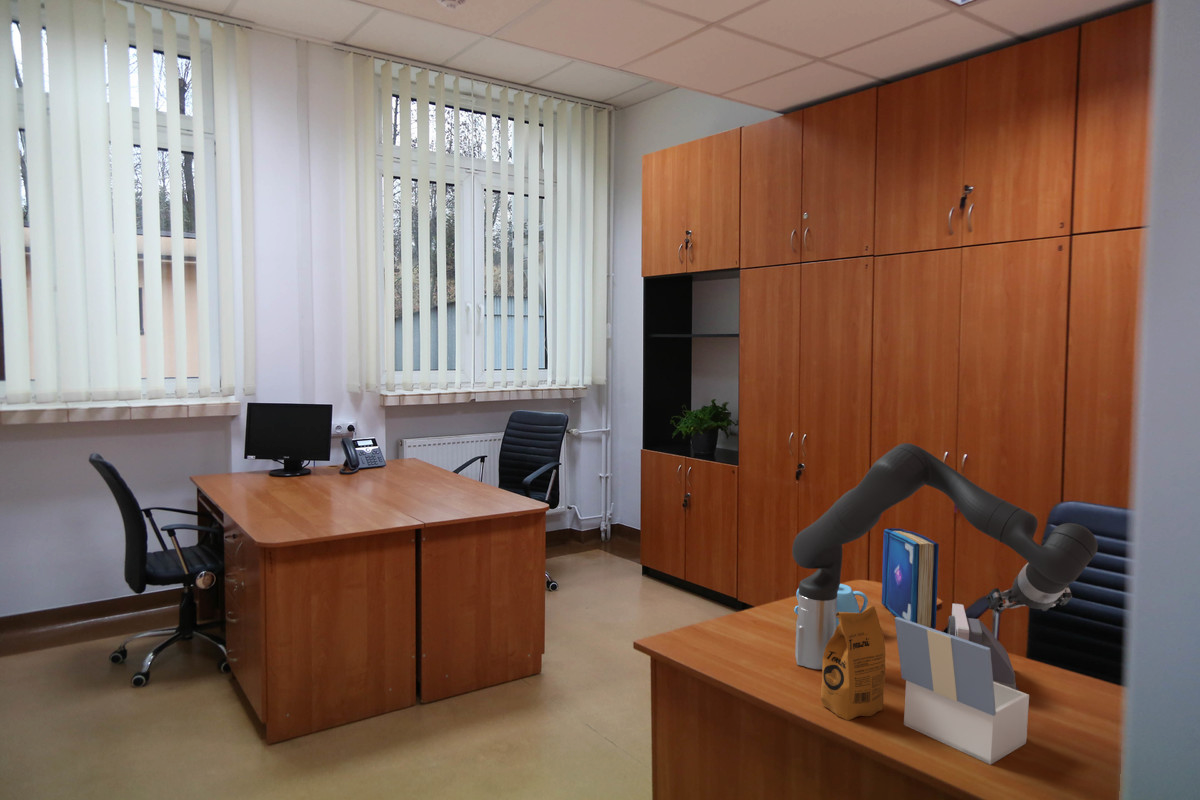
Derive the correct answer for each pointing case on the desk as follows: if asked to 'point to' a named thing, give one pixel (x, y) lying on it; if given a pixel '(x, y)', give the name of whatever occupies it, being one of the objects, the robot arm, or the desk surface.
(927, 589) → the book
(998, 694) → the storage box
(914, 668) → the lid
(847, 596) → the decorative pot
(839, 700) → the coffee package
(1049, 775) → the desk surface
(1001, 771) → the desk surface
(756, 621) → the desk surface
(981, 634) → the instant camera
